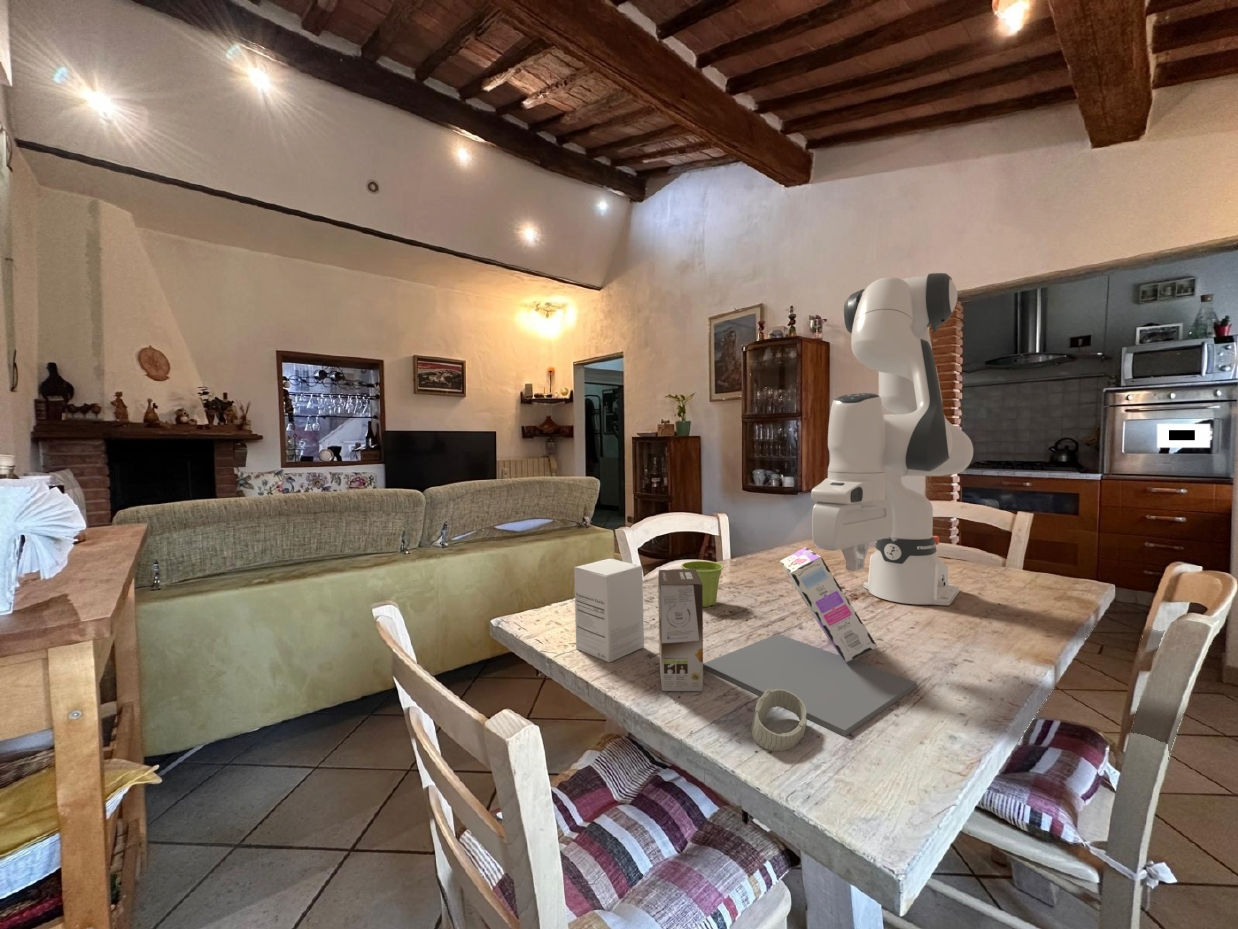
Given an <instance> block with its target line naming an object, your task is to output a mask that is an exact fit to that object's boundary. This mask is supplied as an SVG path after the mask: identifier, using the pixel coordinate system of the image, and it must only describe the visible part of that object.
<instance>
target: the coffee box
mask: <svg viewBox="0 0 1238 929" xmlns="http://www.w3.org/2000/svg"><path fill="white" fill-rule="evenodd" d="M657 577H658V580H657V581H658V583H657V584H658V596H657V597H658V644H659V645H658V650H659V653H658V656H659V657H658V658H659V660H658V661H659V674H660V688H661V691H662V692H702V691H703V690H704V669H703V663H704V617H703V616H704V613H703V612H704V611H703V610H704V609H703V608H704V607H703V584H702V582H701V580H700V578H699V576H698V573H697V571H696V569H683V568H677V569H675V568H673V569H671V568H670V569H659V570H658V576H657Z"/></svg>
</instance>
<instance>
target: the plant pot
mask: <svg viewBox="0 0 1238 929" xmlns="http://www.w3.org/2000/svg"><path fill="white" fill-rule="evenodd" d="M680 568H681V569H696V571H697V573H698V576H699V578H700V580H701V582H702V584H703V608H708V607H710V606H716V604H717V599H718V589H719V582H720V576H721V575H722V570H723V569H724V565H723V564H721V563H719V562H714V561H706V560H693V561H686V562H683V563H681V564H680Z"/></svg>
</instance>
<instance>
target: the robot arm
mask: <svg viewBox="0 0 1238 929" xmlns="http://www.w3.org/2000/svg"><path fill="white" fill-rule="evenodd" d="M957 302H958V289H957V286H956V284H955V282H954V281H953V279H952V277H951V276H950V275H949V274H948V273H945V272H944V273H943V272H933V273H928V274H927V275H920V276H919V275H918V276H910V277H905V278H899V277H892V276H887V277H882V278H879V279H876V280H874V281H873V282H871V283H870V284H869V285H868V286H867V287H866V288H863V289H860V290H857V291H856V292H853V293H851V294H850V295H849V296H848V297H847V299H846V300H845V301H844V305H843V311H842V317H843V323H844V325H845V326H844V327H845V328H846V330H847V332H848V333H849V334H851V336H850V337H851V338H850V341H851V342H850V343H851V351H852V353H853V355H854V357H855V359H856V360H857V361H858V362H859V363H860V364H862V365H863V366H864V367H866V368H868V369H870V370H872V371H875V372H878V394H876V393H870V392H869V393H867V392H864V393H863V392H862V393H851V394H843V395H840V396H837V397H836V398H835V399H833V400H832V403H831V407H830V412H829V419H828V420H829V421H828V430H827V432H828V433H827V448H828V452H829V456H830V459H829V464H828V466H827V478H826V477H825V479H824V480H822V481H821V482H820V483H819V484H817V485H815V486H814V487H813V488H812V489H811V492H810V493H811V494H810V498H811V501H812V502H815V504H814V505H813V507H812V514H811V516H812V517H811V534H812V536H811V537H812V542H813V544H814V546H815V547H816V548H817V549H819V550H823V551H824V550H825V551H832V552H837V551H840V550H841V552H842V555H843V557H844V559H845V569H846V570H847V571H850V572H857V571H860V570H863V569H865V559H866V557H867V554H868V552H869V549H870V547H869V546H870V543H872V542H875V549H876V550H875V552H873V553H872V554H871V555H870V557H869V558H870V559H869V568H868V579H867V580H868V581H864V582H862V583H863V585H862V587H863V588H865V589H866V590H868V591H869V593H870V594H871V595H873V596H875V597H876V598H880V599H883V600H886V601H889V602H895V603H900V604H910V605H935V606H936V605H937V606H951V604H952V603H953V601H954V600H955V598H956V597H957V596H958V594H959V593H960V590H961V589H960V586H958V585H956V584H952V583H949V569H948V566H947V565H946V563H945V562H944V561H943V560H942V559H941V558H940V557H939V556H938V555H937V546H939V543H940V537H939V536H938V535H933V532H934V531H933V529H934V528H933V521H934V520H933V519H934V518H933V517H934V516H933V515H934V512H933V511H934V508H933V505H932V503H931V501H930V499H928V498H927V497H926V496H924V495H922V494H921V493H919V492H917V491H915V490H913V489H910V488H908V487H906V486H905V485H904V484H903V482H902V478H903V477H906V476H907V477H911V476H913V477H922V476H923V477H942V476H949V475H953V474H960V473H962V472H964V471H965V470H966V469H967V468H968V467H969V466H970V464H971V462H972V460H973V456H974V446H973V442H972V440H971V438H970V437H969V436H968V435H967V434H966V432H964V431H963V430H962V429H959V428H958V427H956V426H955V425H954V424H952V423H951V422H950V421H949V420H948V419H947V418H946V415H945V413H944V407H943V403H944V402H943V397H942V396H943V395H942V391H941V390H942V389H941V386H940V379H939V375H938V369H937V368H938V367H937V365H936V363H935V362H936V361H935V357H934V351H933V348H932V347H933V346H932V340H931V335H930V332H929V327H931V330H932V332H933V333H936V332H938V330H939V328H940V326H942V325H943V324H945V323H946V322H948V321H949V319H950V318H951V316H952V315H953V314H954V310H955V308H956V306H957ZM884 409H885V410H887V411H889V412H891V413H893V414H884Z"/></svg>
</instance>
